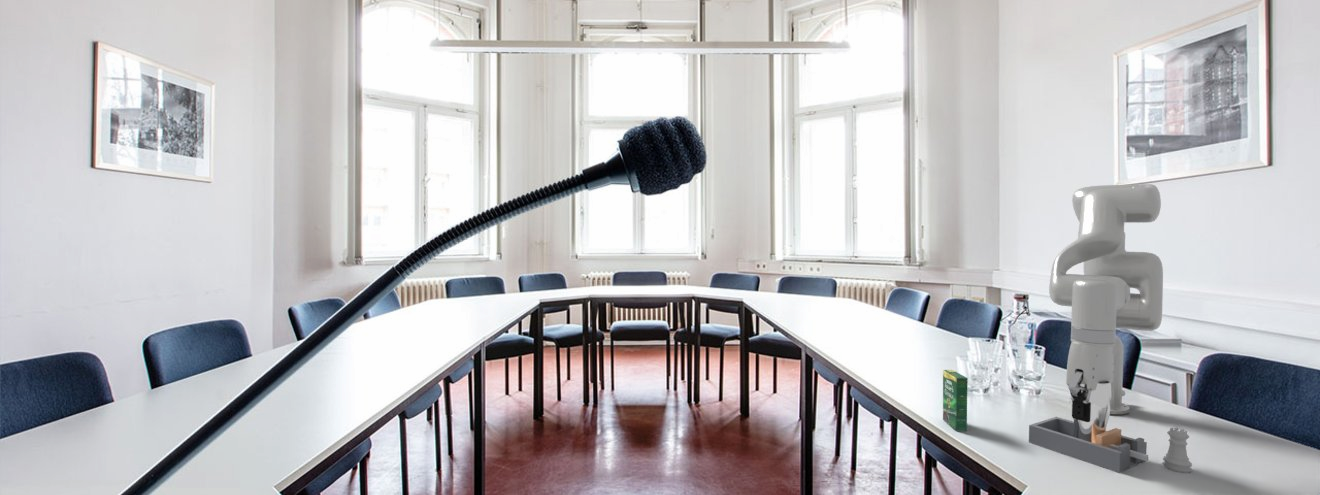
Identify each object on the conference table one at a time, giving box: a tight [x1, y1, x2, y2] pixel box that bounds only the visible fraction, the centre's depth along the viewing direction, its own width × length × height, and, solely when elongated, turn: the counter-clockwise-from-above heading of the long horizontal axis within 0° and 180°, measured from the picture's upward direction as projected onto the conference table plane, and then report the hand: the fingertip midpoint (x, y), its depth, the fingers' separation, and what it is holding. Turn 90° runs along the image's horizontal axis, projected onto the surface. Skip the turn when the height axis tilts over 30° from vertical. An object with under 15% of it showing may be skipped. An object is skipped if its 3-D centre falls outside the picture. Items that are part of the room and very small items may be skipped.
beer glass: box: [1070, 381, 1112, 444], centre depth 117 cm, size 7×7×15 cm
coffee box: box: [942, 369, 969, 432], centre depth 133 cm, size 8×3×13 cm, turn 174°
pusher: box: [1096, 427, 1149, 462], centre depth 111 cm, size 8×7×5 cm
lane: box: [1028, 416, 1148, 474], centre depth 118 cm, size 11×17×5 cm
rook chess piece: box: [1161, 427, 1193, 474], centre depth 109 cm, size 4×4×8 cm
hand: (1090, 416), depth 117 cm, fingers closed on beer glass, 6 cm apart
